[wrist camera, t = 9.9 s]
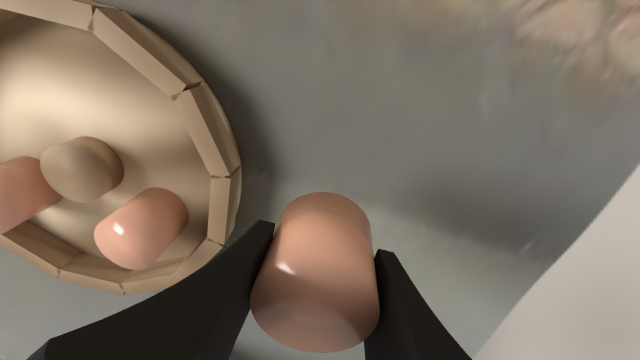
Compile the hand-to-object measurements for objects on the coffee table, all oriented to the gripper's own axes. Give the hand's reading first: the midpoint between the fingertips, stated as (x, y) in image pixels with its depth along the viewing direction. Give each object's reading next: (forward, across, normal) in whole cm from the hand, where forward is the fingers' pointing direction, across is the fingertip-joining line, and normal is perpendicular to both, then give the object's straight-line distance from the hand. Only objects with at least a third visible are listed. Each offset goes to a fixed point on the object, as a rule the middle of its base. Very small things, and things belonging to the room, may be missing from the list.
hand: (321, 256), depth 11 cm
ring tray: (+9, +16, +4) cm, 19 cm away
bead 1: (+9, +21, +7) cm, 24 cm away
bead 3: (+2, 0, 0) cm, 2 cm away
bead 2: (+9, +11, +7) cm, 16 cm away
